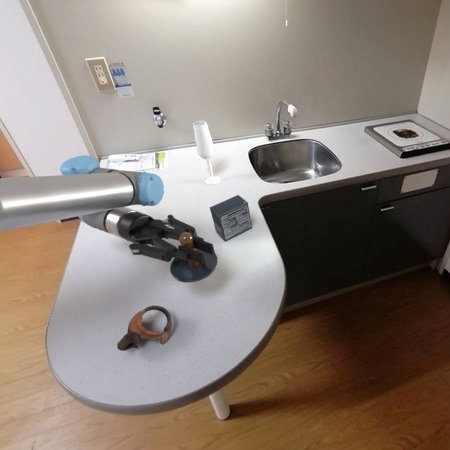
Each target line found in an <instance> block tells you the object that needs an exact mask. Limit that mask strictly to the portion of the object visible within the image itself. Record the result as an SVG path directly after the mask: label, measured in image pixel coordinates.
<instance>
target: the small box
mask: <svg viewBox="0 0 450 450" xmlns="http://www.w3.org/2000/svg"><path fill="white" fill-rule="evenodd" d="M209 211H210V214H211V218H212V221H213V222H212V223H213V225H214V230H215V233H216V234H217V235H218V237H220V238H221V240H222V241H224V242H228V241H230V240H231V239H233V238H235V237H237V236H239V235H241V234H243V233H245V232H247V231H249V230H251V229H252V228H253V224H252V218H251V213H250V207H249V202H248V201H247V200H246V199H244V198H243V196H241V195H239V194H237V195H235V196H233V197H230V198H228V199H226V200H223V201H221V202H219V203H216V204H215V205H212V206H210V207H209Z"/></svg>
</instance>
